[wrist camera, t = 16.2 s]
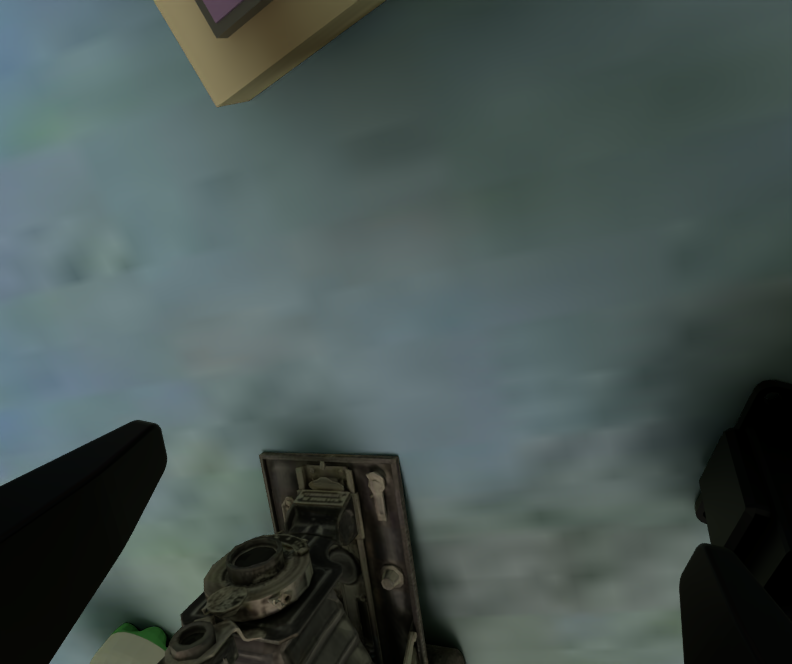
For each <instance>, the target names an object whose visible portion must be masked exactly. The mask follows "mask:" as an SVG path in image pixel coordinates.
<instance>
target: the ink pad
mask: <svg viewBox="0 0 792 664" xmlns="http://www.w3.org/2000/svg"><path fill="white" fill-rule="evenodd" d="M272 1H273V0H195V2H196V3H197V5H198V7H199V9H200V10H201V12H202V14H203V16H204V17H205V19H206V21H207V23H208V24H209V26H210V28H211V30H212V31H213V33H214V35H215V37H216V38H229V37H230V36H231V35H232V34H233V33H235V32H236V31H237V30H238V29H239V28H241V27H242V26H243V25H244V24H245V23H247V22H248V21H249V20H250V19H251V18H252V17H254V16H255V15H256V14H257V13H258V12H260V11H261V10H262V9H263V8H264V7H266V6H267V5H268V4H269V3H270V2H272Z"/></svg>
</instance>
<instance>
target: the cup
mask: <svg viewBox="0 0 792 664" xmlns="http://www.w3.org/2000/svg"><path fill="white" fill-rule="evenodd" d="M166 649H167V647H166V635H165V633H164V631H163V630H162V629H161V628H159V627H149V628H146V629H144V630H143V631H138V629H137V628H136V627H135V626H133V625H132V624H129V623H124V624H123V625H121V626H120V627H119V628H117V629H116V630H115V631H114V632H113V633H112V634H111V636H110V637H109V638H108V639H107V640H106V642H105V643H104V644H103V645H102V646H101V648H100V649H99V650H98V651H97V652H96V654H95V655H94V657H93V658H92V660H91V662H90V664H157V663H158V662H159V661H160V660H161V659H162V658H163V657H164V656H165V651H166Z"/></svg>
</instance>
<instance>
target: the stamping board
mask: <svg viewBox="0 0 792 664" xmlns="http://www.w3.org/2000/svg"><path fill="white" fill-rule="evenodd" d="M385 1H386V0H273V1H272V2H270V3H269V4H268V5H267V6H266V7H264V8H263V9H262V10H261V11H260V12H258V13H257V14H256V15H255V16H254V17H252V18H251V19H250V20H249V21H248V22H247V23H245V24H244V25H243V26H242V27H241V28H239V29H238V30H237V31H236V32H235V33H233V34H232V35H231V36H230V37H229V38H216V37H215V35H214V33H213V31H212V30H211V28H210V26H209V24H208V23H207V21H206V19H205V17H204V16H203V14H202V12H201V10H200V9H199V7H198V5H197V3H196V2H195V0H154V2H155V4H156V5H157V7H158V9H159V10H160V12H161V14H162V16H163V17H164V19H165V21H166V22H167V24H168V26H169V27H170V29H171V31H172V32H173V34H174V36H175V38H176V39H177V41H178V43H179V44H180V46H181V48H182V49H183V51H184V53H185V54H186V56H187V58H188V59H189V61H190V63H191V65H192V66H193V68H194V70H195V71H196V73H197V75H198V76H199V78H200V80H201V81H202V83H203V85H204V87H205V88H206V90H207V92H208V93H209V95H210V97H211V98H212V100H213V102H214V103H215V105H216V107H221V106H226V105H231V104H236V103H241V102H247V101H250V100H251V99H252V98H254V97H255V96H257V95H258V94H259V93H261V92H262V91H263V90H265V89H266V88H267V87H269V86H270V85H271V84H273V83H274V82H276V81H277V80H278V79H280V78H281V77H282V76H284V75H285V74H286V73H288V72H289V71H291V70H292V69H293V68H295V67H296V66H297V65H299V64H300V63H301V62H303V61H304V60H306V59H307V58H308V57H310V56H311V55H312V54H314V53H315V52H316V51H318V50H319V49H321V48H322V47H323V46H325V45H326V44H327V43H329V42H330V41H331V40H333V39H334V38H335V37H337V36H338V35H340V34H341V33H342V32H344V31H345V30H346V29H348V28H349V27H350V26H352V25H353V24H355V23H356V22H357V21H359V20H360V19H361V18H363V17H364V16H365V15H367V14H368V13H370V12H371V11H372V10H374V9H375V8H376V7H378V6H379V5H380V4H382V3H383V2H385Z"/></svg>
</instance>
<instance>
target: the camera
mask: <svg viewBox="0 0 792 664" xmlns="http://www.w3.org/2000/svg"><path fill="white" fill-rule="evenodd" d="M259 457H260V462H261V467H262V472H263V477H264V482H265V487H266V492H267V497H268V502H269V507H270V512H271V517H272V522H273V527H274V532H275V534H274V535H263V536H259V537H256V538H253V539H251V540H248V541H245V542H244V543H242V544H240V545H237V546H235V547H234V548H233V549H232V550H231V551H230V552H229V553H228V554H226V555H225V556H224V557H222V558H221V559H220V560H219V561H217V562H216V563H215V564H214V565H212V567H211V569H210V570H209V572H208V573H207V575H206V577H205V578H204V592H203V593H202V594H201V595H200V596H199V597H198V598H197V599H196V600H195V601H194V602H193V603H192V604H191V605H190V606H189V607H188V608H187V609H186V610H185V611H184V612H183V613H182V614H181V623H182V627H181V628H180V629H179V630H178V631H177V632H176V633H175V634H174V635H173V637H172V639H171V641H170V643H169V646H168V648H167V649H166V651H165V656H164V657H163V658H162V659H161V660H160V661H159V662H158V663H157V664H465V661H464V658H463V655H462V654H461V652H460V651H459V650H458V649H454V648H448V647H442V646H436V645H430V644H425V637H424V631H423V624H422V617H421V610H420V603H419V596H418V589H417V582H416V576H415V569H414V562H413V555H412V548H411V541H410V534H409V527H408V520H407V514H406V507H405V500H404V493H403V486H402V479H401V472H400V465H399V458H398V456H374V455H343V454H308V453H272V452H263V453H261V454H260V455H259Z"/></svg>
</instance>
